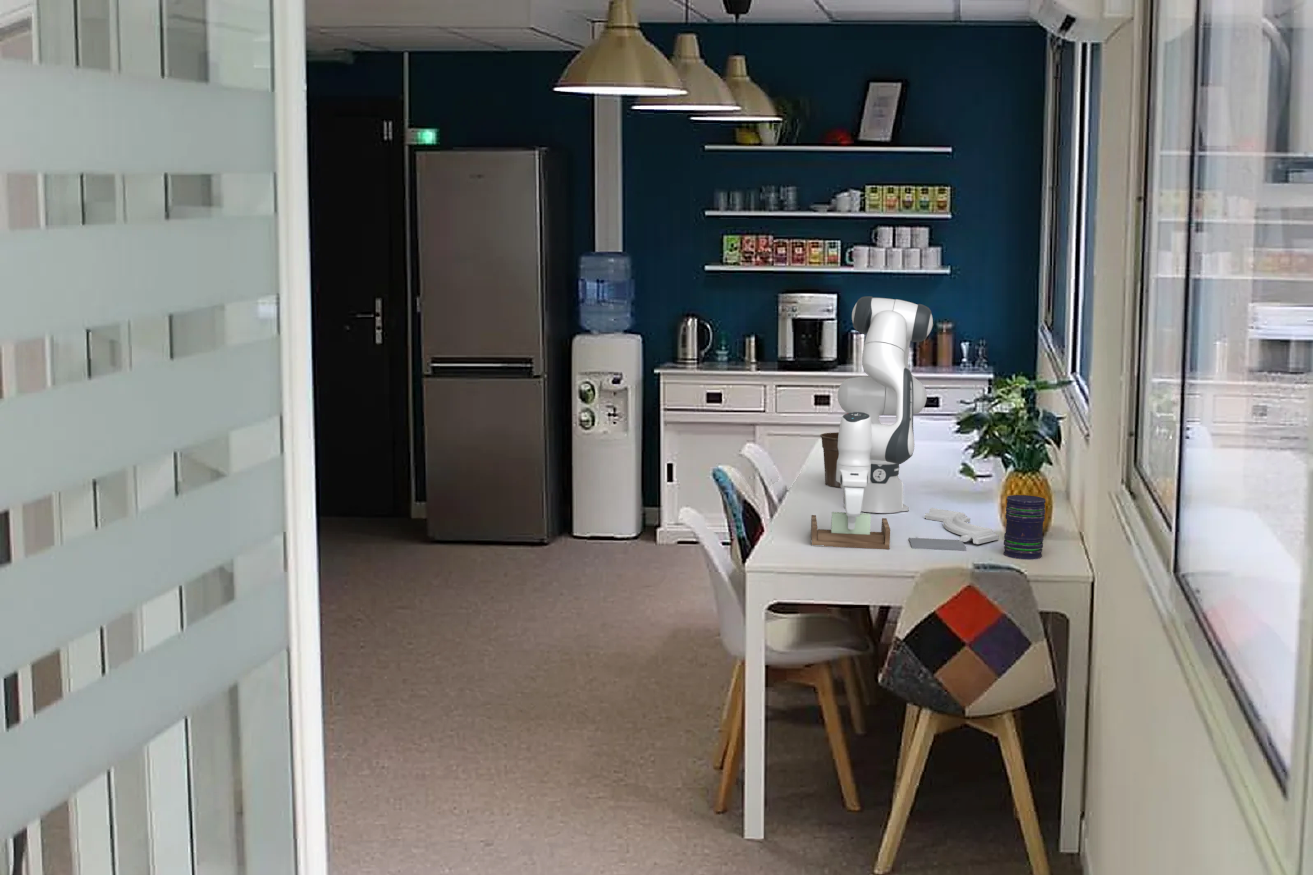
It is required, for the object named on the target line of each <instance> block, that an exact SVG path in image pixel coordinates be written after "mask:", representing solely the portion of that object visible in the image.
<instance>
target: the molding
mask: <svg viewBox="0 0 1313 875" xmlns="http://www.w3.org/2000/svg"><path fill="white" fill-rule="evenodd" d="M924 518H926V519H925V520H930V521H931V520H932V521H937V522H943V528H944V529H945V530H947V531H949V532H951V533H953V534H956V535H959V536H960V537H959V540H960V541H963V543H967V542H971V541H972V543H973V544H975V545H980V544H985V543H989V542H992V541H998V540H1000V539H999V538H1000V534H996V532H995V531H994V530H993V529H992V528H988V527H983V526H979V525H975V524H972V523H971V518H970V517H968V516H967V515H966V513H964V512H960V511H954V510H947V509H941V508H940V509H939V508H934V507H930V508H929V511H928V512H927V513H925V514H924ZM967 522H970V523H967Z"/></svg>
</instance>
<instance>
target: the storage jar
mask: <svg viewBox="0 0 1313 875" xmlns="http://www.w3.org/2000/svg"><path fill="white" fill-rule="evenodd" d="M1045 503H1046V499H1045V498H1044V497H1041V496H1036V495H1035V496H1034V495H1025V494H1023V495H1022V494H1012V495H1008V496H1006V506H1005V519H1006V522H1005V523H1006V524H1005V525H1006V526H1005V532H1004V536H1003V538H1004V539H1003V549H1004V550H1003V556H1005V557H1007V558H1011V559H1015V560H1025V561H1026V560H1032V561H1033V560H1040V559H1042V558H1043V554H1042V552H1043V548H1044V535H1043V531H1044V530H1043V529H1044V522H1045V516H1046V504H1045ZM1041 557H1042V558H1041Z"/></svg>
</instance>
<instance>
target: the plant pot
mask: <svg viewBox="0 0 1313 875" xmlns="http://www.w3.org/2000/svg"><path fill="white" fill-rule="evenodd" d="M838 435H839V431H838V432H825V433H821V434H819V437H820V438H821V447H822V449H823V465H824V468H823V469H824V480H825V481H824V483H825V485H826V486H829V487H833V488H840V489H842V488H841V484H840V483H839V482H837V481H836V470H837V460H838V456H839V451H838Z"/></svg>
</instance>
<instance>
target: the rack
mask: <svg viewBox="0 0 1313 875" xmlns="http://www.w3.org/2000/svg"><path fill="white" fill-rule="evenodd" d="M810 516H811V520H810V540H812V543H811V546H812V545H824V546H823V547H827V546H833V547H832V548H850V549H853V548H854V549H855V548H856V549H869V550H870V549H872V550H875V549H877V550H890V546H891V544H890V543H891V528H890V525H889V522H888V518H885V517H882V518H881V530H880V531H870V535H867V534H845V533H831V529H819V528H818V521H817V515H816V514H811V515H810Z"/></svg>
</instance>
